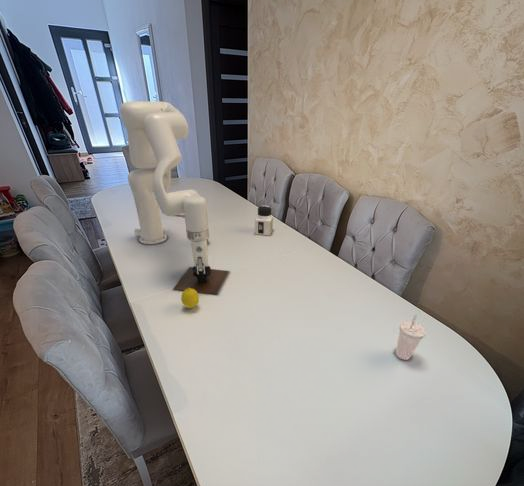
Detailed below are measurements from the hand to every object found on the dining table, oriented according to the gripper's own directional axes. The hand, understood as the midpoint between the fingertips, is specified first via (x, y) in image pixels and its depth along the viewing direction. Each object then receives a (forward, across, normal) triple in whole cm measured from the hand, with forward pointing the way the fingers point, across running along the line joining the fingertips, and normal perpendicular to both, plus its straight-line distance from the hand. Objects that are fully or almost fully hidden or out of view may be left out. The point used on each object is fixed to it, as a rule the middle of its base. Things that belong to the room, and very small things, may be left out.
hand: (202, 277), depth 115 cm
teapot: (+2, +74, +10) cm, 75 cm away
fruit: (+2, -17, +4) cm, 17 cm away
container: (+2, +43, -32) cm, 53 cm away
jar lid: (-3, 0, 0) cm, 3 cm away
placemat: (+1, 0, 0) cm, 1 cm away
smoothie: (+1, -48, -54) cm, 72 cm away
